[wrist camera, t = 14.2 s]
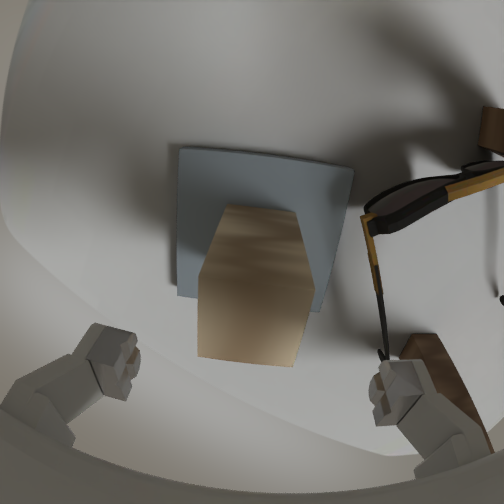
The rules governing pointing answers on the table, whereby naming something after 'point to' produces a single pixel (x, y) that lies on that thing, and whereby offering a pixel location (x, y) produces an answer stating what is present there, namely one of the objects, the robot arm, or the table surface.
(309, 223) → the pad
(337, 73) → the table surface
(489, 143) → the rod stand
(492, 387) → the table surface
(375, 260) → the sunglasses
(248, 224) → the block
